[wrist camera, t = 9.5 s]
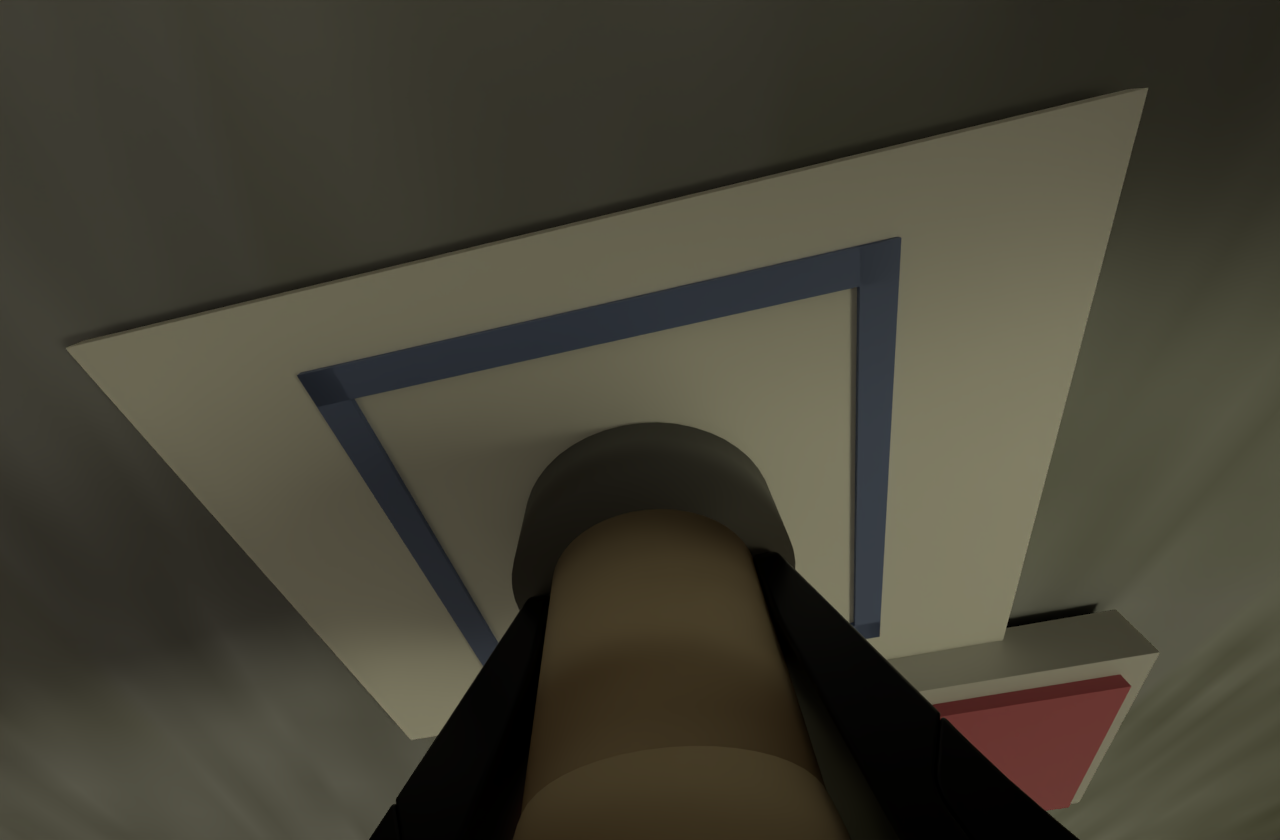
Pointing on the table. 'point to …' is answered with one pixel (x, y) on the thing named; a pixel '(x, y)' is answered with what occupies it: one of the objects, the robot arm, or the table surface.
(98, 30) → the table surface
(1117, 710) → the ink pad
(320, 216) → the table surface
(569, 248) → the paper
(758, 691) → the stamp
